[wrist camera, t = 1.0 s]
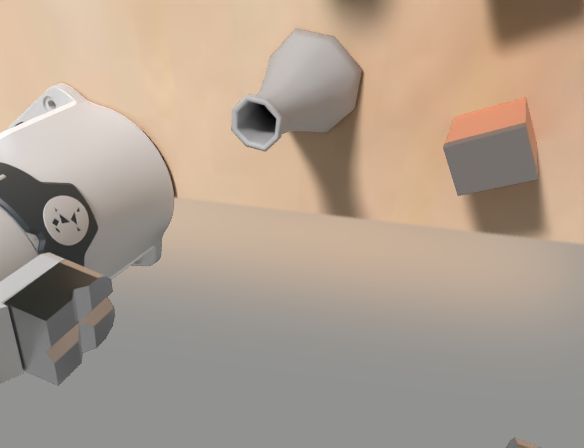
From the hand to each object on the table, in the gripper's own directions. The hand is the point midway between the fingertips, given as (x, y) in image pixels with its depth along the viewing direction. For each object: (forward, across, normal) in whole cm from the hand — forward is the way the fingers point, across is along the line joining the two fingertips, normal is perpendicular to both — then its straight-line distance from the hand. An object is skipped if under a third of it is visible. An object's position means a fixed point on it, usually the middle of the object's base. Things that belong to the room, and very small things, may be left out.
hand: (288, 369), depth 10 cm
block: (+29, -4, +4) cm, 30 cm away
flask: (+29, +9, +4) cm, 31 cm away
